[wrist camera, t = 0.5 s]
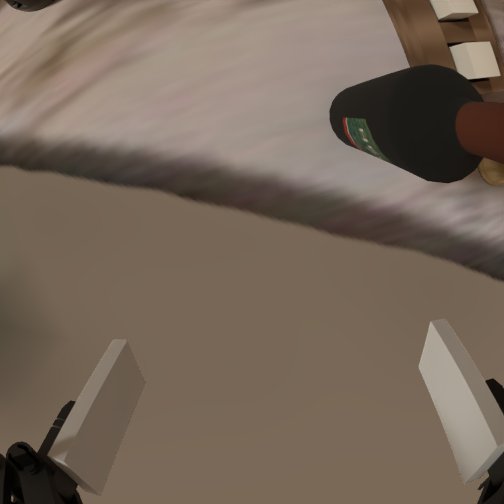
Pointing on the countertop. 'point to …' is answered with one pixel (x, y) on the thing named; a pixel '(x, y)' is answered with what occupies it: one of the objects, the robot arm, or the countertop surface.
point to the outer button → (474, 60)
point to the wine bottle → (421, 122)
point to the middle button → (453, 9)
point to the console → (442, 37)
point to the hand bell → (492, 171)
